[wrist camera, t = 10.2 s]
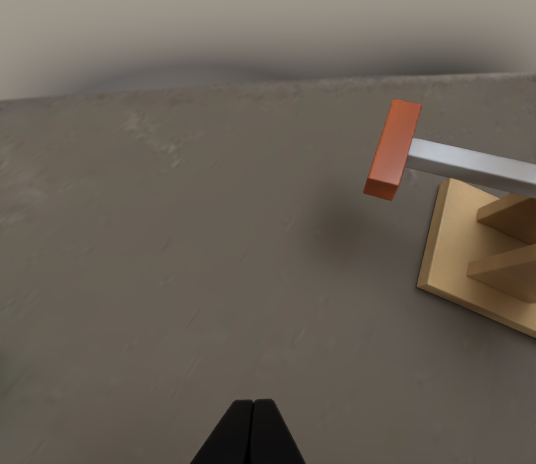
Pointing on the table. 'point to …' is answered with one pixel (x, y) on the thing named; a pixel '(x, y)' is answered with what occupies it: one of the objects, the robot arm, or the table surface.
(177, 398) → the table surface
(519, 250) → the bracket
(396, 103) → the lever
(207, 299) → the table surface
